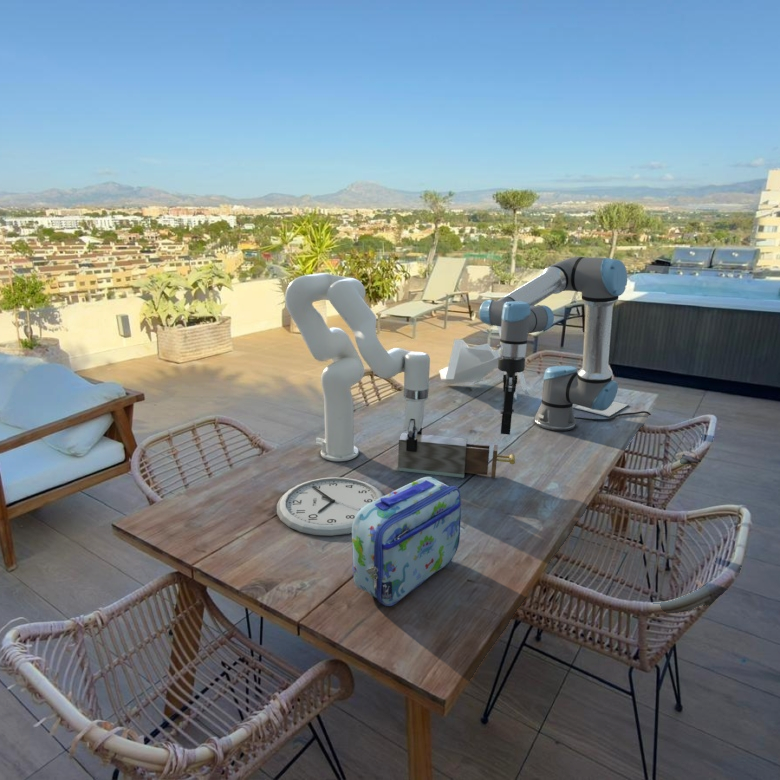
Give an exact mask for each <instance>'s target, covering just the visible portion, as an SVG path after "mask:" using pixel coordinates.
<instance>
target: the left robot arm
mask: <svg viewBox="0 0 780 780" xmlns="http://www.w3.org/2000/svg"><path fill="white" fill-rule="evenodd" d="M287 285H288V286H287V287H286V289H285V295H284V303H285V307H286V309H287V312H288V314H289V315H290V317H291V319H292V320H293V322H294V323H295V325H296V327H297V329H298V331H299V333H300V335H301V337H302V339H303V341H304V342H305V345H306V346H307V348H308V350H309V352H310V354H311V356H312V357H313V358H314V360H316V361H317V362H327V361H330V360H332V363H329V365H327V366H326V367H325V368H324V369H323V371H322V373H321V375H320V384H321V389H322V394H323V395H322V396H323V406H324V408H323V409H324V410H323V411H324V412H323V413H324V438H321V437H316V438H315V446H316V447H321V450H320V456H321V457H322V458H323V459H324V460H326V461H330V462H347V461H351V460H353V459H356V457H358V456H359V448H358V447H357V446H355V433H354V432H355V408H354V398H353V394H352V390H351V388H352V387H353V386H354V385H356V384H358V383H359V382H360V381H362V379H363V378H364V377H365V365H364V363H363V361H364V362H365V363H366V365H367V366H368V367H369V369H370V370H371V371H372V372H373V373H374V374H375V375H376V376H377V377H379V378H381V379H383V380H389V379H392V378H394V377H395V376H397V375H398V374H401V373H403V399H405V407H404V419H403V431H404V432H407V433H408V434H407V441H406V451H410V452H416V451H417V439H416V438H417V434H422V435H423V423H424V417H425V401H427V400H429V391H430V389H429V388H430V370H431V357H430V355H429V354H428V353H426V352H423V351H411V350H407V349H405V348H400V347H393V348H390V349H388V350H387V349H386V348H385V347H384V346H383V345H382V343H381V341H380V339H379V337H378V335H377V329H376V328H377V327H376V326H377V316H376V314H375V313H374V311H373V310H372V309H371V307H369V305H368V304H367V302H366V301H365V297H366V288H365V286H364V284H363V283H362V282H361V281H360V280H359V279H357V278H353V277H348V276H342V275H336V274H330V273H322V272H320V273H313V274H304V275H301V276H297V277H295V278H294V279H293V280H291V282H289V284H287ZM320 301H329V303H330V304H331V306H332V307H333V308H334V309H335V311H336V312H337V313H338V314H339V316H340V317H341V318H342V320H343V321H344V322H345V324H346V325H347V326H348V328H349V329H350V330H351V331H352V333H353V335H354V339H355V343H356V345H357V349H358V350H357V349H356V347H355V345H354V344H353V341H352V339H351V338H350V336H349V335H348V334H347V332H346V331H344V330H343V329H341V328H340V327H335V326H334V327H329V326H328V325H327V323H326V322H325V319H324V317H323V315H322V314H321V312H320V311H319V310H318V309H317V308H316V307H314V305H313V303H317V302H320ZM358 351H359V353H358ZM359 354H360V355H359ZM361 358H362V359H363V361H362V359H361ZM414 434H415V436H414Z"/></svg>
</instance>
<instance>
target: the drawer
mask: <svg viewBox="0 0 780 780" xmlns="http://www.w3.org/2000/svg"><path fill="white" fill-rule="evenodd" d="M498 445H499V444H493V448H492V458H491V459H492V460H491V472H490V473H491V474H490V477H491V478H496V474H497V462H505V463H509V464H510V465H514V464H516V456H515V454H512V453H511V454H509V455H506V454H505V455H503V454H498V448H499V447H498ZM490 447H491V446H490V445H489V444H478V443H468V442H467V445H466V457H465V472H464V473H465V474H474V475H484V476H488V471H489V459H490Z"/></svg>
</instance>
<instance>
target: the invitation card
mask: <svg viewBox="0 0 780 780" xmlns="http://www.w3.org/2000/svg"><path fill="white" fill-rule="evenodd" d="M628 406H629V404H627V403H623V402H618V401H615V400H614V401H613V402H612V404H611V405H610V407H609V408H607V409H606V410H604V411H600V410H595V409H594V410H593V409H591V408H587V407H583V406H580V405H575V406H574V407H573V409H575V410H581V411H584V412H587V413H593V414H596V415H600V416H604V417H608V418H610V417H611V416H613V415H614V414H616V413H617V412H619V411H621V410H623V409H624V408H626V407H628Z"/></svg>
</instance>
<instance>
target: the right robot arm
mask: <svg viewBox="0 0 780 780" xmlns="http://www.w3.org/2000/svg"><path fill="white" fill-rule="evenodd" d="M627 285H628V271H627V267H626V265H625V264H624V262H623V261H622V260H620V259H616V258H610V257H592V256H591V257H590V256H573V257H569V258H565V259H563V260H560V261H557V262H555V263H553V264H551V265H550V266H548V267H546V268H545V269H543V271H542V272H541V274H540V275H538V276H537V277H535V278H534V279H531V280H530V281H528V282H526V283H525V284H523V285H521V286H520V287H518V288H516V289H515V290H513V291H511V292H510V293H508V294H506V295H505V296H503V297H501V298H499V299H498V300H494V299H486V300H484V301H483V302H482V303H481V305H480V306H479V311H478V314H479V321H480V322H482V323H483V324H485V325H490V326H491V327H493V326H494V327H495V326H496V327H497V326H501V338H500V337H499V338H500V339H499V343H498V344H497V345H496V346H497V348H498V349H499V354H500V355H501V356H500V357H499V359H498V367H497V369H498V370H499V371H501V372H504V371H505V372H506V375H505V374H503V375H502V383H503V384H502V385H503V387H502V391H503V403H502V410H500V412H499V413H500V415H501V423H500V424H501V425H500V435H509V436H510V435H511V429H512V417H513V413H514V412H515V409H514V407H513V406H514V399H515V397H514V393H515V391H517V390H516V389H517V388H516V387H517V384H518V373H519V372H522V371H523V372H524V371H525V369H526V358H525V357H526V356H527V351H528V350H527V349H528V336H529V334H534V333H538V332H539V333H541V332H544V331H546V330H548V329H550V328H551V326H553V324H554V322H555V321H554V320H555V314H554V312H553V310H552V309H551V308H550V307H549V306H548V305H545V304H543V305H540V304H539V303H541V302H542V301H544V300H546V299H547V298H549V297H550V296H552V295H558V294H561V293H562V292H578V293H581V300H582V301H583V302H584V303H585V315H584V330H583V331H584V333H583V348H582V349H583V350H582V368H580V369H579V370H578V368H577V367H576V366H571V365H555V366H554V365H553V366H550V367H547V368H546V369H545V371H544V375H543V381H542V382H543V383H542V394H541V402H540V405H539V407H538V410H537V411H536V413H535V416H534V424H535V425H536V426H537V427H539V428H542V429H544V430H549V431H556V432H567V431H572V430H574V429H575V428H576V420H583V421H592V422H593V421H594V422H606V421H612V420H614V419H616V418H617V417H621V416H629V415H639V414H648V416H652V414H651V413H650V412H649V411H646V410H640V411H634V412H624V413H619V414H616V415H614V416H612V417H608V418H589V417H580V416H579V417H577V416H575V413H574V407H573V405H575V406H578V405H580V406H583V407H587V408H591V409H593V410H594V409H595V410H600V411H604V410H606V409H607V408H609V407H610V405H611V404H612V402H613V401H614V402H615V399H616V396H617V394H618V389H619V384H618V382H617V380H615V379H614V380H613V372H612V371H611V370H610V369H609V359H610V347H611V337H612V336H611V334H612V321H613V309H614V308H613V307H614V304H615V303H616V302H617V301H618V300H619V296H622V295H623V294H624V292H625V291H626V288H627V287H626V286H627ZM517 372H518V373H517ZM516 374H517V375H516Z"/></svg>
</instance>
